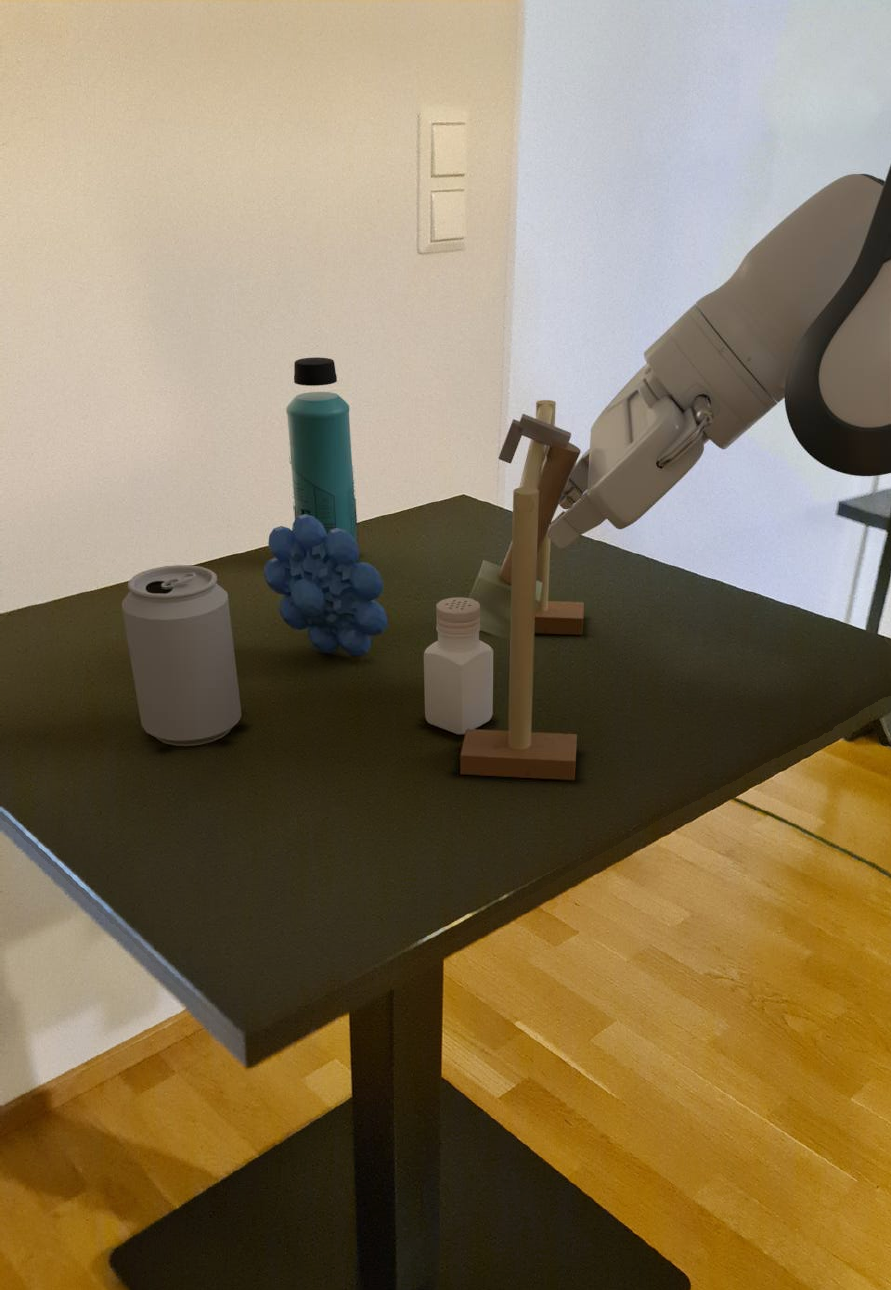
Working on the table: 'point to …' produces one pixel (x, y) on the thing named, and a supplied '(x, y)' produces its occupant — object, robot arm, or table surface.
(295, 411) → the beverage bottle
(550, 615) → the wooden dowel stand
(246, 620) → the table surface
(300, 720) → the table surface
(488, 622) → the hook hanger stand
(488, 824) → the table surface
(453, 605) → the pepper shaker
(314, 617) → the grapes
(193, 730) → the can
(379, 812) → the table surface
